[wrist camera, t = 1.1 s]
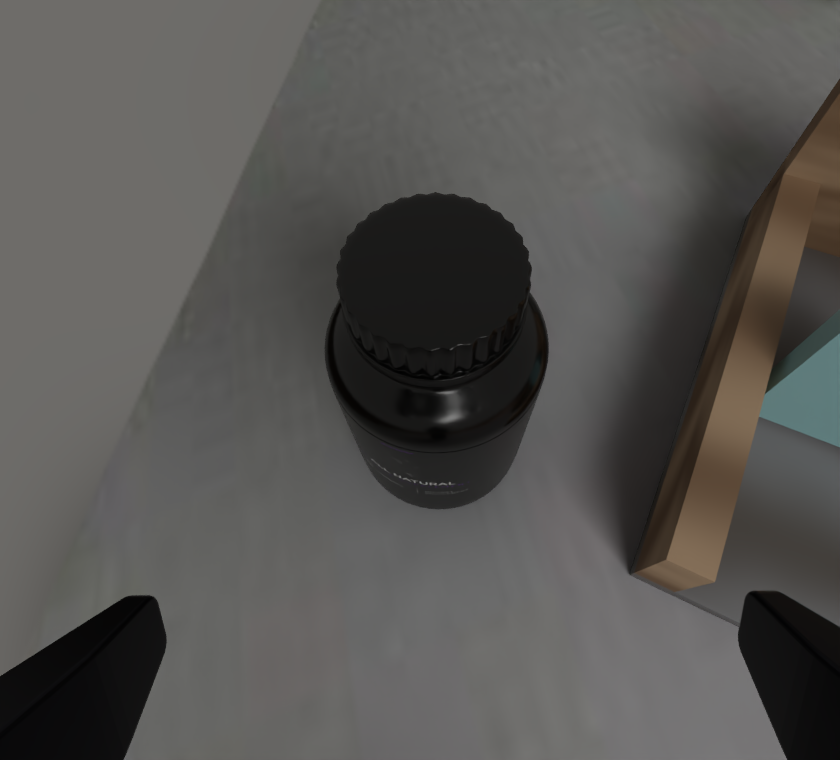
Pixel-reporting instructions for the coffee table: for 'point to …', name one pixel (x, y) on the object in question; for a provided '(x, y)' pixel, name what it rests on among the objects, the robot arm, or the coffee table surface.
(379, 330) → the supplement bottle
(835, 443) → the pusher
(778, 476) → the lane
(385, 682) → the coffee table surface
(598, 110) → the coffee table surface
